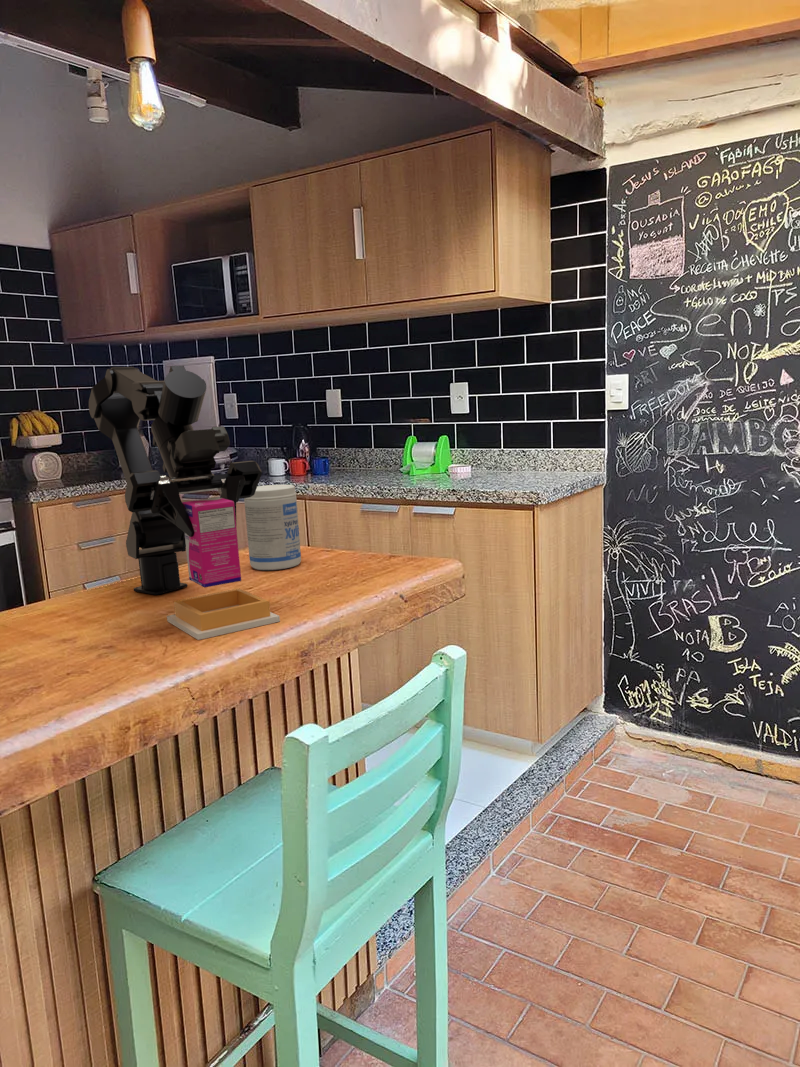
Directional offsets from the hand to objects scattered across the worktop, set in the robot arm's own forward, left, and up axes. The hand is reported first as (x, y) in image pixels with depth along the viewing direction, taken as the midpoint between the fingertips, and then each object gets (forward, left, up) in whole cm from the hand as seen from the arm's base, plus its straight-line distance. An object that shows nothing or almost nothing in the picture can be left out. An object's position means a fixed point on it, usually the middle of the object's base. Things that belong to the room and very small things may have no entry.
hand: (213, 531), depth 112 cm
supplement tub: (-21, +31, -13) cm, 40 cm away
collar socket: (-1, +1, -13) cm, 13 cm away
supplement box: (-1, 0, -7) cm, 8 cm away
